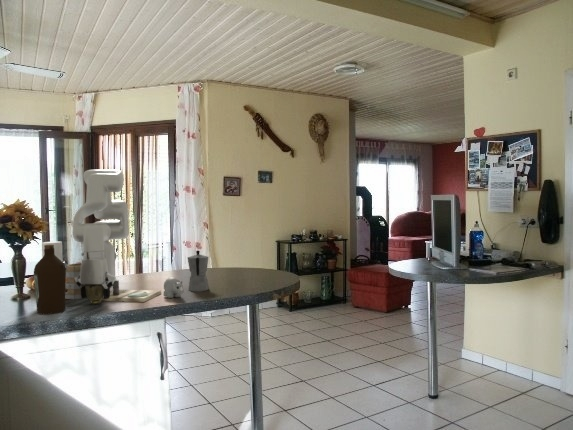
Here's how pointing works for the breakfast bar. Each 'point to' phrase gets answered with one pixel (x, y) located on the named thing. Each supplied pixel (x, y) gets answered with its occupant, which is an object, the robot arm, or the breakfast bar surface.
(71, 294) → the tankard
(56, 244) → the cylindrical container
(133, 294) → the board
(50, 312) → the olive oil
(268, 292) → the breakfast bar surface
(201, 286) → the coffeepot
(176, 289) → the chubby cartoon animal
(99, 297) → the cup
